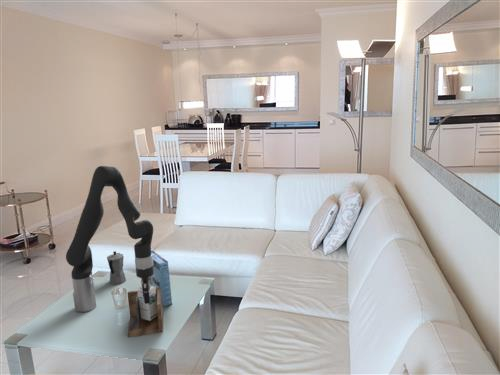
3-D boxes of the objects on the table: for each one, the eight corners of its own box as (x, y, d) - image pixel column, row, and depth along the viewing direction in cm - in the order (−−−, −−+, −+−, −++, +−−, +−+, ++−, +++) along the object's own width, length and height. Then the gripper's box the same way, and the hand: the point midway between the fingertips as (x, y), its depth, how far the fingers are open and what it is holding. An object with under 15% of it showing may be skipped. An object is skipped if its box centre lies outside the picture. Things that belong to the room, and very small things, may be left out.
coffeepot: (113, 276, 232) (110, 247, 228) (129, 275, 232) (126, 246, 228) (104, 288, 217) (100, 258, 213) (121, 288, 217) (118, 257, 213)
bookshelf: (127, 337, 171) (124, 308, 168) (130, 317, 187) (127, 291, 184) (162, 332, 174) (160, 304, 171) (163, 313, 190) (160, 287, 187)
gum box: (172, 304, 198) (168, 261, 193) (162, 307, 195) (158, 264, 190) (157, 289, 214) (153, 250, 209) (148, 292, 211) (144, 252, 206)
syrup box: (150, 321, 176) (147, 291, 173) (140, 318, 179) (137, 288, 176) (158, 315, 181) (156, 286, 178) (149, 312, 184) (146, 283, 181)
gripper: (136, 259, 181) (139, 292, 184) (134, 272, 167) (138, 307, 171) (153, 257, 182) (156, 290, 186) (152, 270, 168) (155, 305, 172)
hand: (147, 298), depth 178 cm, fingers closed on syrup box, 8 cm apart
